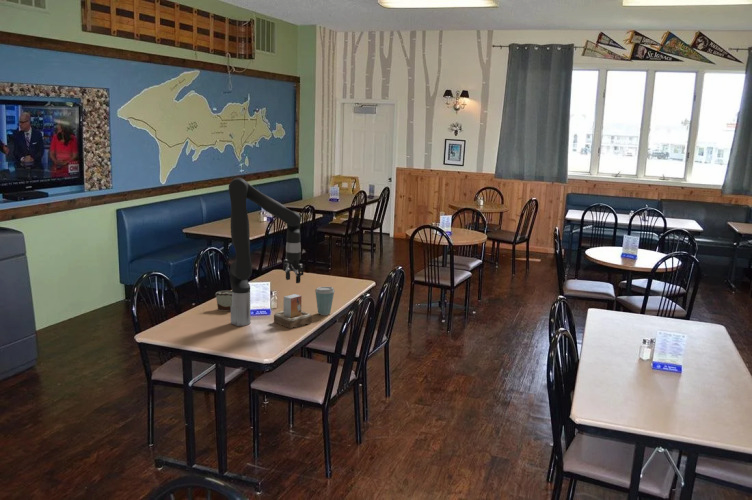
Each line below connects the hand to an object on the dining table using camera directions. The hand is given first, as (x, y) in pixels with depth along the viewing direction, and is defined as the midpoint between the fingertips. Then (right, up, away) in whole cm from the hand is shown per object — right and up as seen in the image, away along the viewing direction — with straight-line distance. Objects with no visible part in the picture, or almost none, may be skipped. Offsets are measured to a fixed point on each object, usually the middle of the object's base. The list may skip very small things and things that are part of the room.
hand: (293, 281), depth 334 cm
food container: (-39, -17, +25) cm, 50 cm away
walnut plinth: (-1, -22, +5) cm, 23 cm away
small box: (-1, -18, +4) cm, 19 cm away
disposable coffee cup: (+15, -19, +22) cm, 33 cm away
